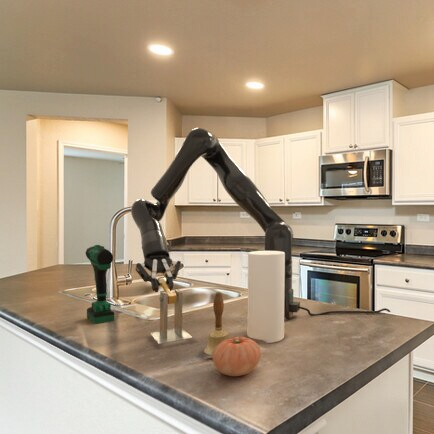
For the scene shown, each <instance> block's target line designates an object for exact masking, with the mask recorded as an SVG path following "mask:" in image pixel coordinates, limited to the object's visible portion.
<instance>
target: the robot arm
mask: <svg viewBox="0 0 434 434" xmlns="http://www.w3.org/2000/svg"><path fill="white" fill-rule="evenodd" d="M199 158H203V159H204V160H205V161H206V163H207V164H209V165H210V167H211V168H212V169H213V171H215V173H216V175H217V176H218V179H219V181H220V183H221V186H222V187H223V188H224V190H225V192H226V193H227V194H228V195H229V197H230V198H231V199H232V200H233V202H234V203H235V204H236V205H237V206H238V207H239V208H240V209H242V210H243V212H245V213H246V214H247V215H249V217H251V218H252V219H253V220H254V221H255V222H256V223H257V224H258V225H259V226H260V228H261V229H262V231H263V232H264V251H281V252H284V253H285V286H284V321H289V320H291V319H292V318H293V316H294V313H296V314H297V313H298V312H299V311H300V310H304V311H306V312H307V314H308V315H309V316H311V317H314V316H322V315H327V314H378V313H381V312H384V311H386V312H388V313H391V312H392V311H391V310H390V309H389V308H385V307H384V308H381V309H377V310H330V311H329V310H328V311H324V312H320V313H312V312H311V311H310V309H308V308H307V307H305V306H304V307H303V306H301V301H294V288H293V256H292V254H293V253H292V251H293V250H292V249H293V248H292V247H293V245H292V244H293V239H294V230H293V228H292V227H291V226H290V225H289V223H287V222H286V221H285V220H284V219H283V218H282V217H281V216H280V215H279V214H278V213H277V212H276V211H275V210H274V209H273V208H272V206H271V205H270V204H269V202H268V200H267V199H266V197H265V196H264V195H263V193H262V192H261V191H260V189H259V188H258V187H257V185H256V184H255V183H254V182H253V181H252V179H251V178H250V177H249V176H248V175H247V173H245V171H244V170H243V169H242V168H241V167H240V166H239V165H238V164H237V163H236V162H235V161H234V160H233V159H232V158H231V157H230V155H229V154H228V152H227V151H226V149H225V148H224V146H223V145H222V143H221V142H220V140H219V139H218V137H217V136H216V134H214V133H213V132H211V131H209V130H208V129H205V128H201V127H196V128H194V129H192V130H191V131H189V132H188V134H187V135H186V137H185V138H184V140H183V142H182V145H181V146H180V148H179V150H178V151H177V153H176V155H175V157H174V158H173V160H172V161H171V163H170V165H169V166H168V167H167V169H166V170H165V172H164V173H163V174H162V176H160V178H159V179H158V180H157V182H156V183H155V185H154V186H153V187H152V188H151V190H150V195H151V197H152V198H153V199H155V200H156V203H154V202H151V201H149V200H146V199H143V198H142V199H141V198H140V199H137V200H135V201H134V202H133V203H132V205H131V208H130V214H131V217H132V220H133V222H134V223H135V225H136V226H137V228H138V230H139V233H140V239H141V240H140V241H141V249H142V250H141V251H142V254H143V262H141V263H140V262H138V263H136V265H135V272H136V273H137V274H138V275H139V277H140V278H141V280H142V281H143V282H144V283H147V282H148V283H149V282H150V285H151V289H152V291H153V292H154V293H159V289H160V287H159V286H158V282H157V279H158V278H157V274H162V276H163V277H165V278H166V279H167V280H168V283H167V286H168V288H169V290H170V291H171V292H172V290H173V289H174V281H175V280H176V279H177V277H178V274H179V271H180V268H181V267H180V266H181V263H182V262H181V260H177V261H174V260H173V259H172V258H171V257H170V251H169V247H168V243H167V239H166V237H165V234H164V229H163V226H162V223H161V221H162V219H163V218H164V216H165V214H166V211H167V208H168V206H169V204H170V201H172V199H173V197H174V196H175V195H176V194H177V192H178V191H179V190H180V188H181V187H182V186H183V183H184V181H185V178H186V176H187V174H188V172H189V170H190V169H191V167H192V166H193V165H194V164H195V162H196V161H197V160H198V159H199ZM171 266H172V268H173V272H171V268H170V267H171ZM147 270H148V271H149V272H150V274H149V273H148V271H147Z"/></svg>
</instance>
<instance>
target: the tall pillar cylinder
mask: <svg viewBox="0 0 434 434" xmlns="http://www.w3.org/2000/svg"><path fill="white" fill-rule="evenodd" d="M284 286H285V253H284V252H281V251H265V250H253V251H248V252H247V322H246V323H247V324H246V325H247V328H246V329H247V333H246V334H247V335H246V336H247V337H248V338H249V339H252V340H262V341H264V342H265V343H267V344H273V343H276V342H280V341H281V340H283V339H284V338H285V320H284Z"/></svg>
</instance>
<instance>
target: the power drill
mask: <svg viewBox="0 0 434 434" xmlns="http://www.w3.org/2000/svg"><path fill="white" fill-rule="evenodd" d="M85 256H86V258H87V259H88V260H89V261H90V265H91V267H93V268H92V270H93V273H94V282H95V292H96V301H92V302H91V307H88V308H86V318H87V320H90V321H91V322H92V323H93V324H94V325H96V324H103V323H109V322H115V312H114V311H113V310H112V309H111V303H110V302H108V301H107V296H108V292H107V290H108V285H107V272H108V270H110V269H111V267H112V263H113V261H114V254H113V253H112V252H111V251H110V250H109V249H107V248H105V246H103V245H100V244H94V245H93V246H89V247H88V248H86V250H85Z"/></svg>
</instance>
